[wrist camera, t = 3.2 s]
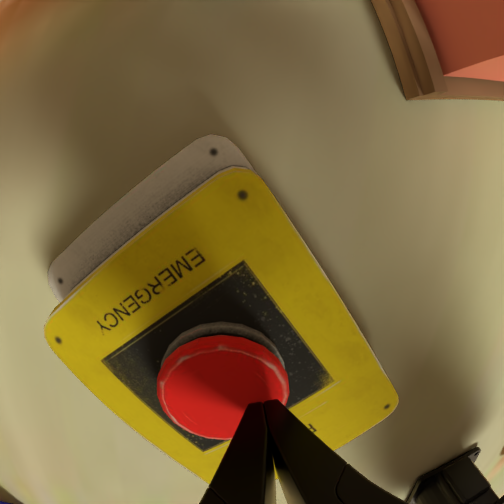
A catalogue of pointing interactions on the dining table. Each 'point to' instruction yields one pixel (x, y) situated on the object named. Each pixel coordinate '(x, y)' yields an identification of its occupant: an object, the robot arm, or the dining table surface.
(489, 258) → the dining table surface
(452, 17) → the pawn
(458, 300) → the dining table surface
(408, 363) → the dining table surface
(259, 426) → the robot arm
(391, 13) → the track
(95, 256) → the emergency button
